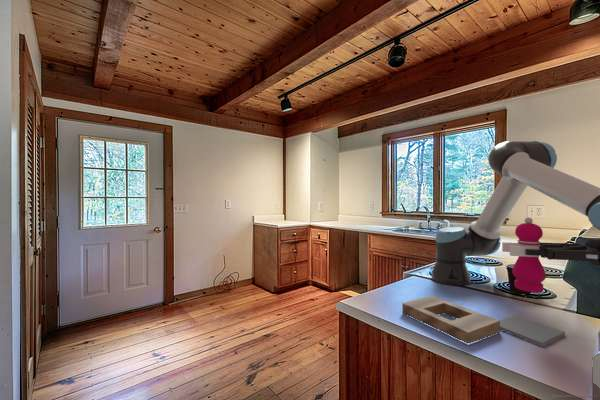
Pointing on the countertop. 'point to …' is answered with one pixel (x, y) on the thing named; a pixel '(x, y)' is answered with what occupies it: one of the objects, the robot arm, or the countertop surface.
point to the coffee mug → (512, 281)
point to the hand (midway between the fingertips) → (506, 248)
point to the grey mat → (530, 330)
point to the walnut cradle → (463, 328)
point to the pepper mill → (529, 259)
